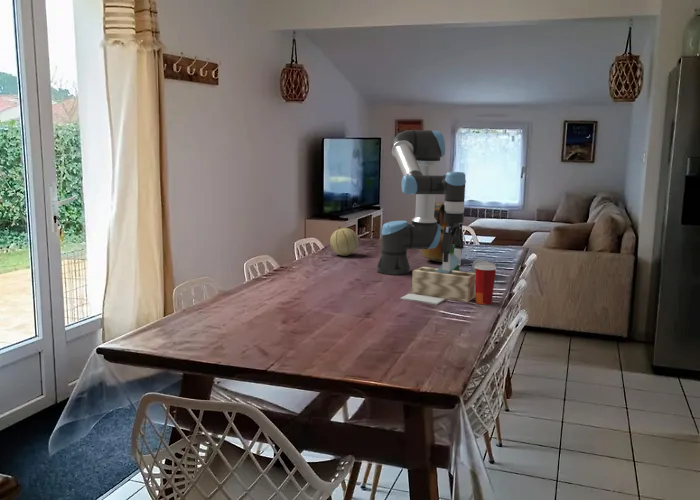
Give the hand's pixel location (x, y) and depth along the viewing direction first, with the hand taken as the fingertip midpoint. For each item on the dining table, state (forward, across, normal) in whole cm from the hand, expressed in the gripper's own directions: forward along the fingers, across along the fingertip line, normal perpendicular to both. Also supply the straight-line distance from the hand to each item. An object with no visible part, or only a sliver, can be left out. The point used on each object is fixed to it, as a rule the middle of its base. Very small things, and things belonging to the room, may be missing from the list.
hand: (451, 267), depth 255 cm
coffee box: (+12, -45, -16) cm, 49 cm away
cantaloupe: (+12, -52, -78) cm, 95 cm away
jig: (+12, 0, -2) cm, 12 cm away
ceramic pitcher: (+12, -65, -29) cm, 72 cm away
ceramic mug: (+12, -44, -1) cm, 46 cm away
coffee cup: (+12, +2, +14) cm, 19 cm away
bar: (+4, 0, -2) cm, 5 cm away
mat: (+12, +11, -7) cm, 18 cm away
